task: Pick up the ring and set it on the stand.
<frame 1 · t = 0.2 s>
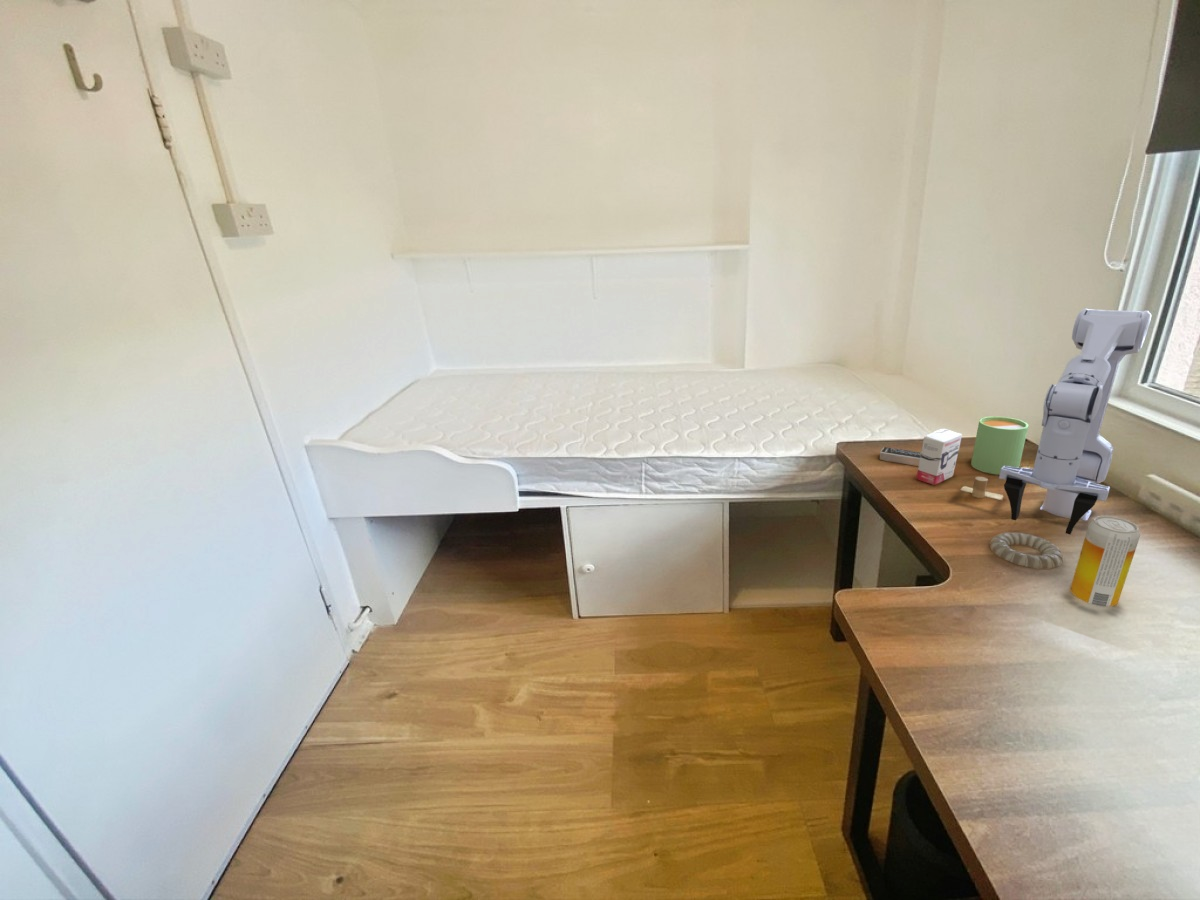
hand: (1041, 524, 97), 10 cm above the table, tool pointing down, fingers open, 7 cm apart
multiport hub: (902, 461, 150), on the table
stand: (977, 501, 126), on the table
ring: (1025, 551, 104), point 1 cm above the table
orange pill bottle: (1091, 602, 92), on the table
ink box: (934, 478, 139), on the table
mug: (991, 465, 143), on the table
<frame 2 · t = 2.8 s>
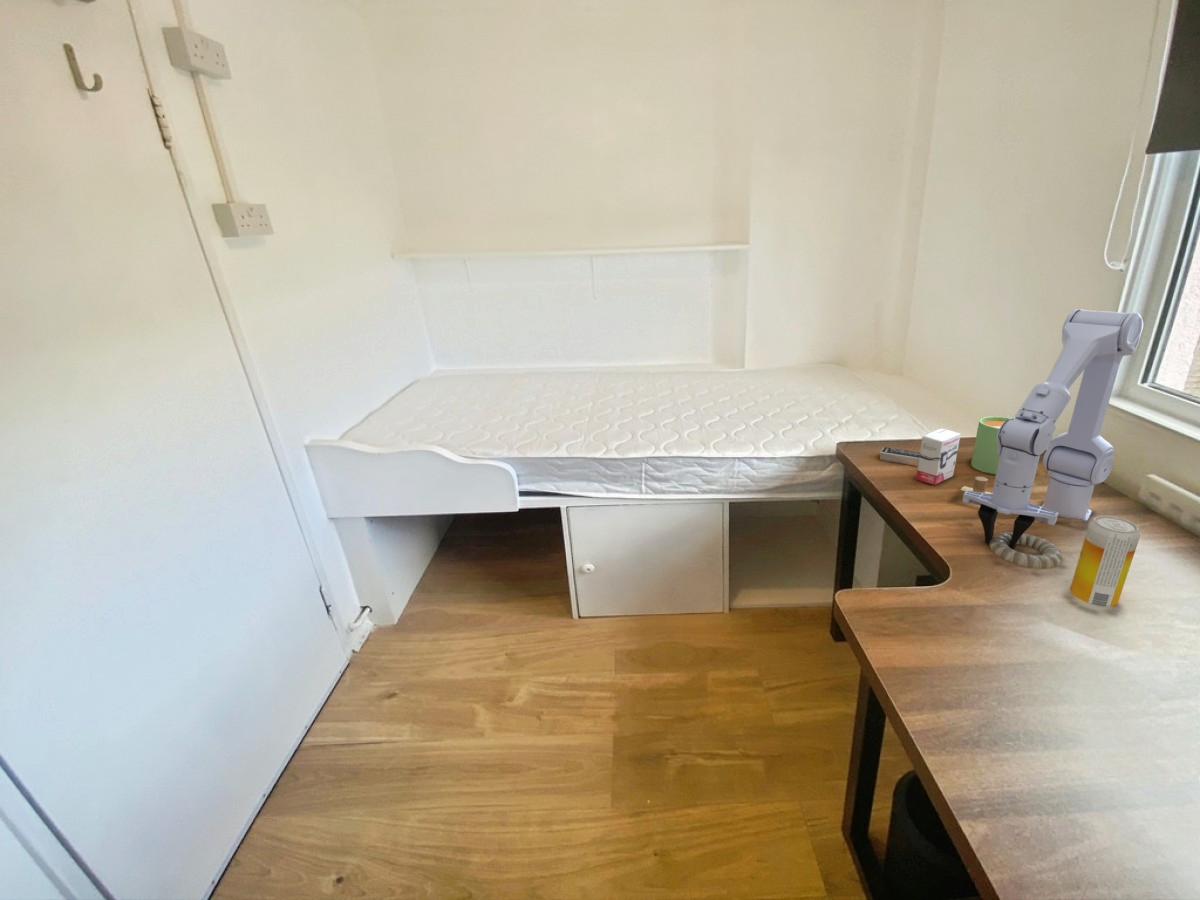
hand: (999, 544, 107), 1 cm above the table, tool pointing down, fingers closed on ring, 3 cm apart
ring: (1025, 551, 104), point 2 cm above the table, touching gripper
everything else where it was.
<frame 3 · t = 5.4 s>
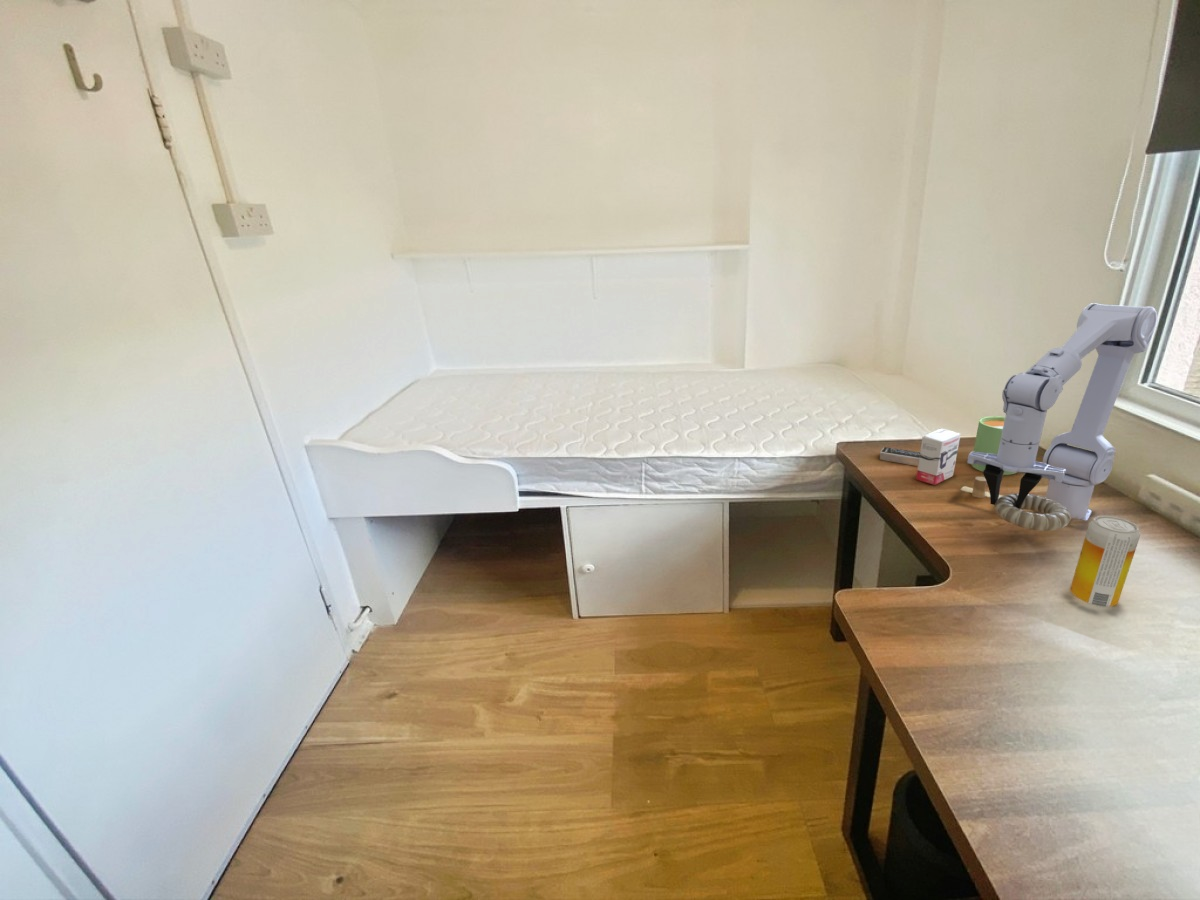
hand: (1005, 505, 105), 9 cm above the table, tool pointing down, fingers closed on ring, 3 cm apart
ring: (1031, 511, 103), point 9 cm above the table, touching gripper
everything else where it was.
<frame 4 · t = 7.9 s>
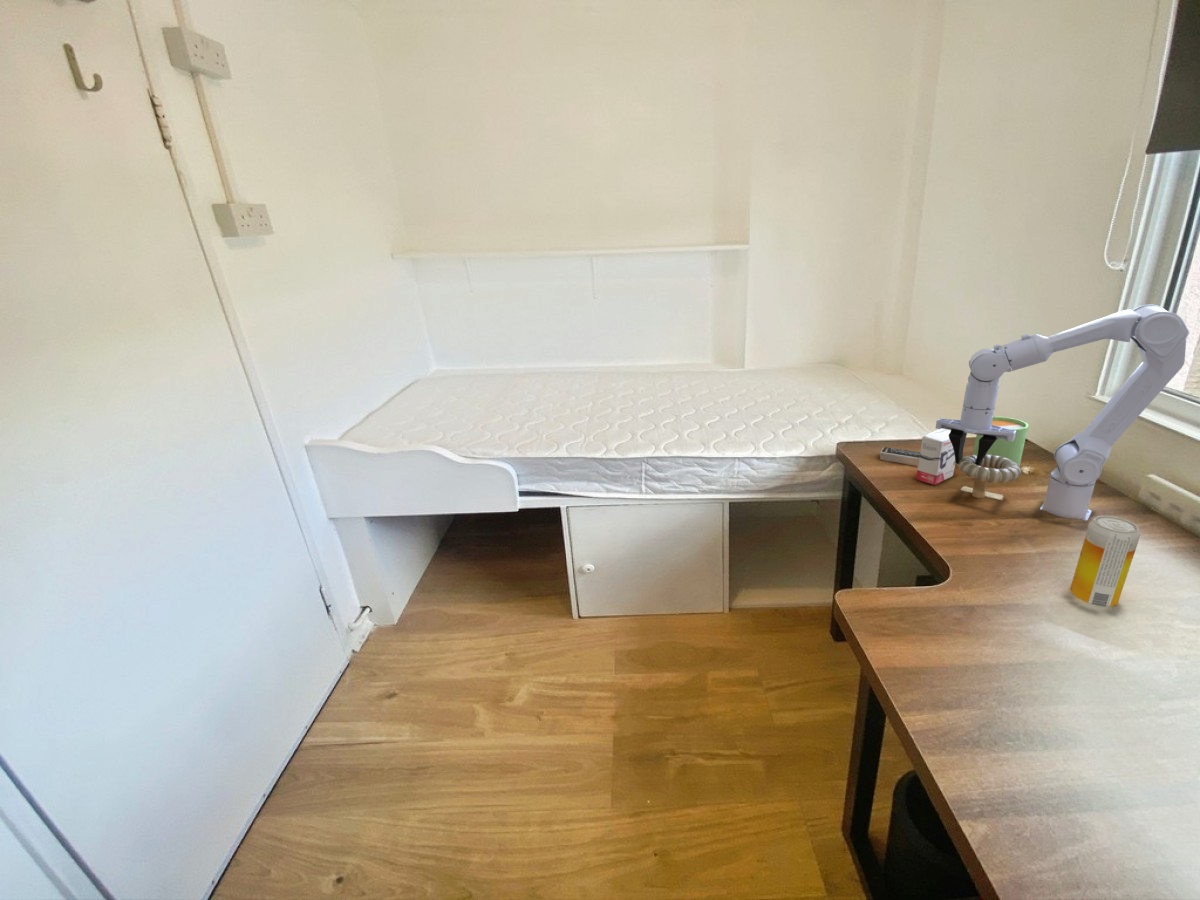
hand: (967, 464, 123), 9 cm above the table, tool pointing down, fingers closed on ring, 3 cm apart
ring: (989, 468, 120), point 10 cm above the table, touching gripper
everything else where it was.
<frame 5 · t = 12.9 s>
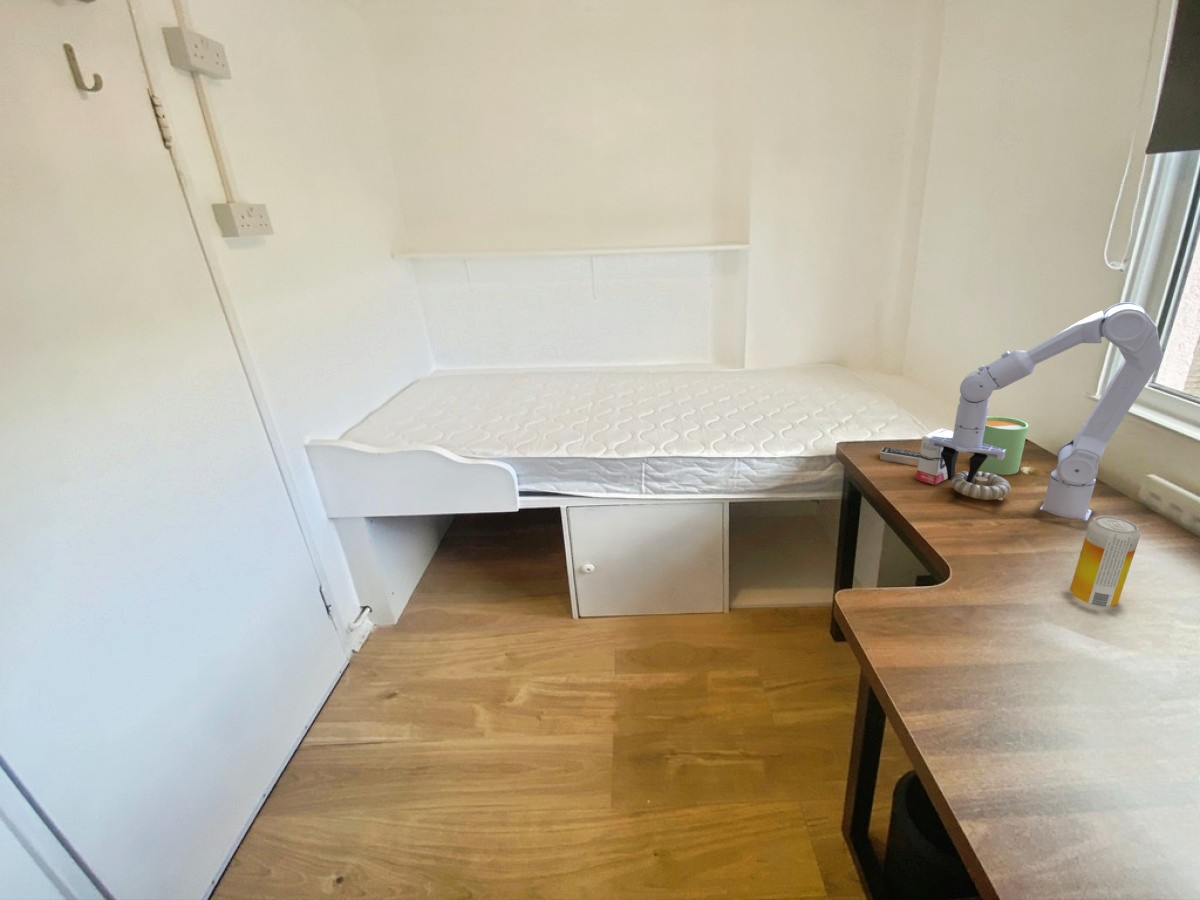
hand: (959, 480, 128), 4 cm above the table, tool pointing down, fingers closed on ring, 3 cm apart
ring: (980, 484, 125), point 4 cm above the table, touching gripper
everything else where it was.
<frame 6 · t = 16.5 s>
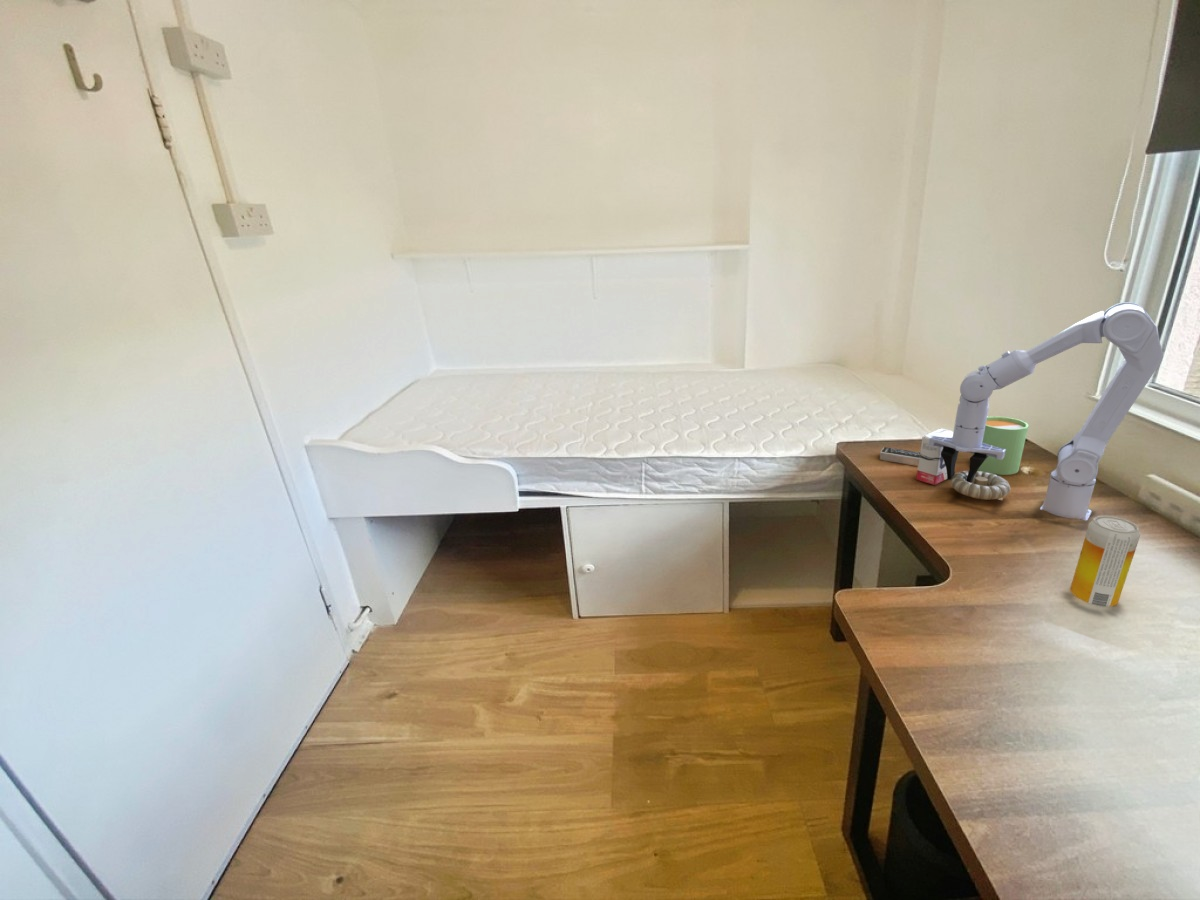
hand: (959, 480, 128), 4 cm above the table, tool pointing down, fingers closed on ring, 3 cm apart
ring: (979, 484, 125), point 4 cm above the table, touching gripper
everything else where it was.
when the fingers open (6 cm above the table, at t = 19.7 s): ring drops 4 cm, resting on stand.
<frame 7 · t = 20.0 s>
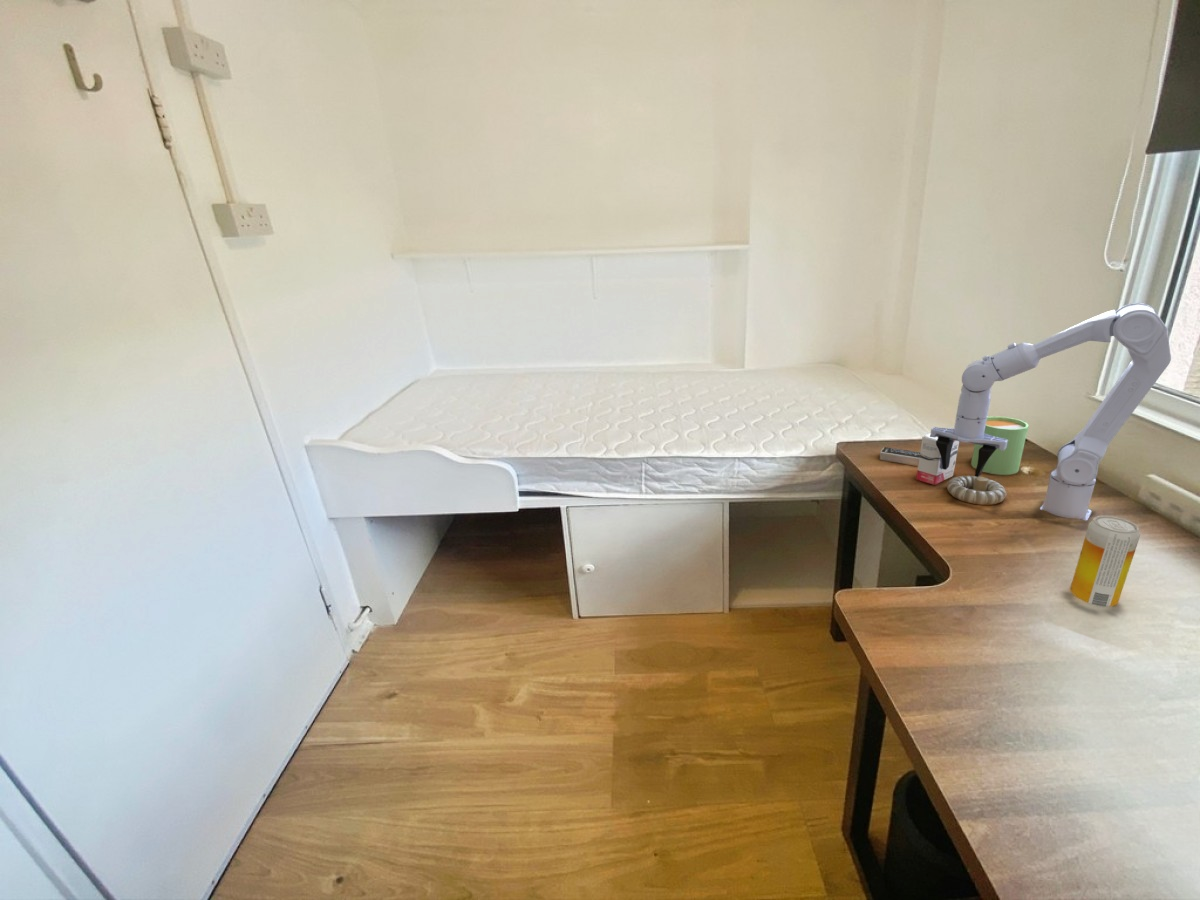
hand: (961, 471, 127), 6 cm above the table, tool pointing down, fingers open, 6 cm apart
ring: (976, 489, 126), point 3 cm above the table, touching stand
everything else where it was.
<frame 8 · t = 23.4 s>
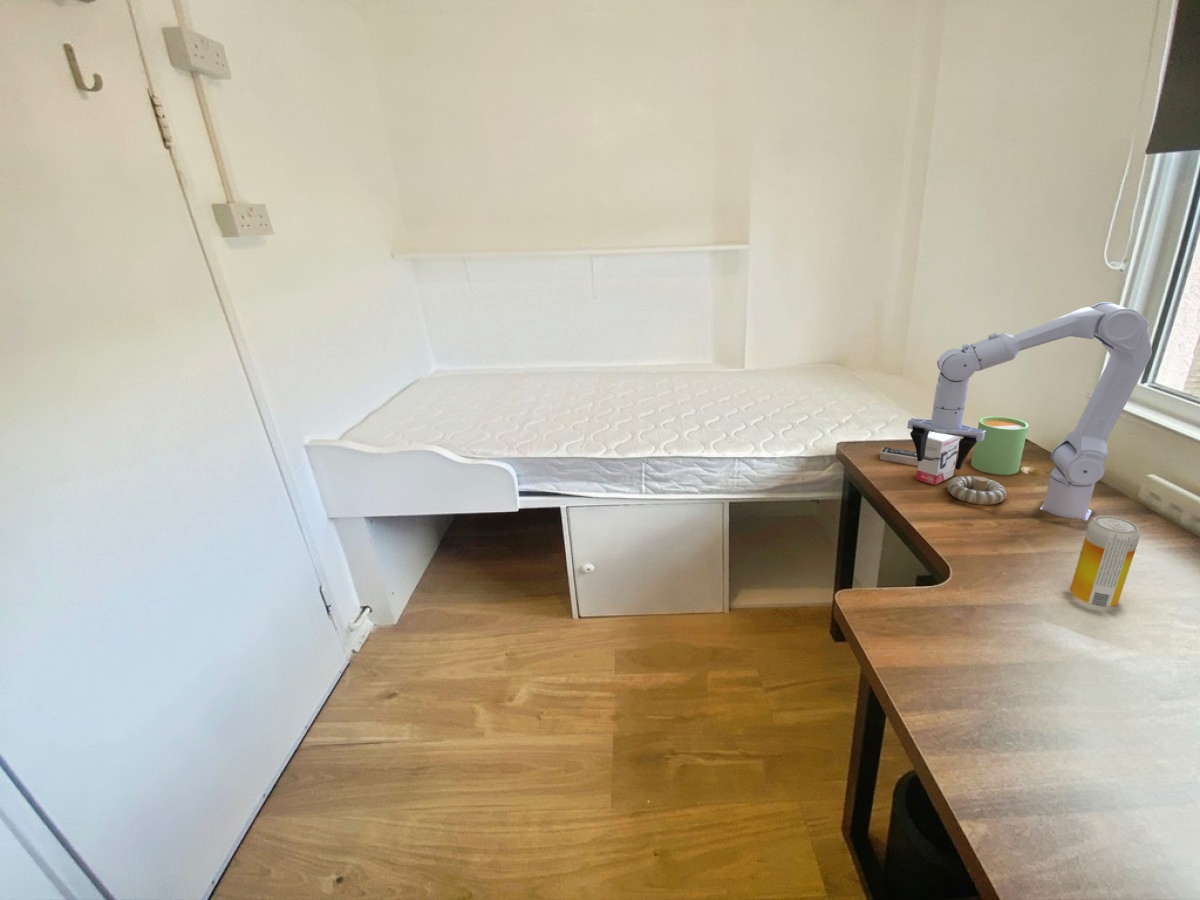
hand: (939, 464, 123), 10 cm above the table, tool pointing down, fingers open, 7 cm apart
nothing on the table moved.
at the end: ring 0.6 cm from the stand (horizontally); ring point 2.7 cm above the table; the gripper is holding nothing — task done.
